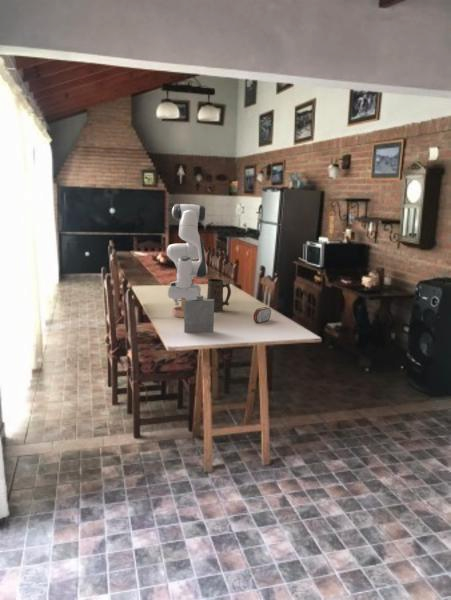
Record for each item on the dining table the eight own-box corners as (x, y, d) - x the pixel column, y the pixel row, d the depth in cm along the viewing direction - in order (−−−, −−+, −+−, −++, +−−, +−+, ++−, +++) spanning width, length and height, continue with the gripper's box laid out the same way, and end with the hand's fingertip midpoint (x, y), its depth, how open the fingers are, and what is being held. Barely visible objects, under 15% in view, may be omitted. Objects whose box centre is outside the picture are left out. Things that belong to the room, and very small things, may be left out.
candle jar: (177, 311, 312) (178, 305, 311) (197, 313, 308) (198, 307, 308) (169, 316, 299) (169, 309, 299) (190, 318, 296) (190, 312, 295)
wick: (183, 312, 306) (183, 296, 304) (186, 312, 305) (186, 297, 303) (181, 314, 302) (181, 297, 300) (184, 314, 302) (184, 298, 299)
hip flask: (212, 330, 272) (213, 294, 268) (214, 332, 268) (215, 296, 264) (183, 331, 268) (184, 294, 264) (184, 333, 265) (185, 296, 260)
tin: (267, 319, 301) (267, 305, 300) (271, 320, 300) (272, 306, 298) (252, 323, 290) (253, 309, 288) (256, 324, 288) (257, 310, 286)
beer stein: (207, 312, 313) (210, 280, 309) (203, 308, 323) (206, 278, 320) (230, 313, 318) (233, 282, 314) (226, 309, 328) (229, 279, 324)
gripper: (202, 284, 300) (201, 306, 303) (171, 281, 306) (170, 303, 309) (199, 286, 294) (198, 308, 297) (167, 283, 300) (166, 305, 303)
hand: (184, 306), depth 303 cm, fingers open, 8 cm apart
